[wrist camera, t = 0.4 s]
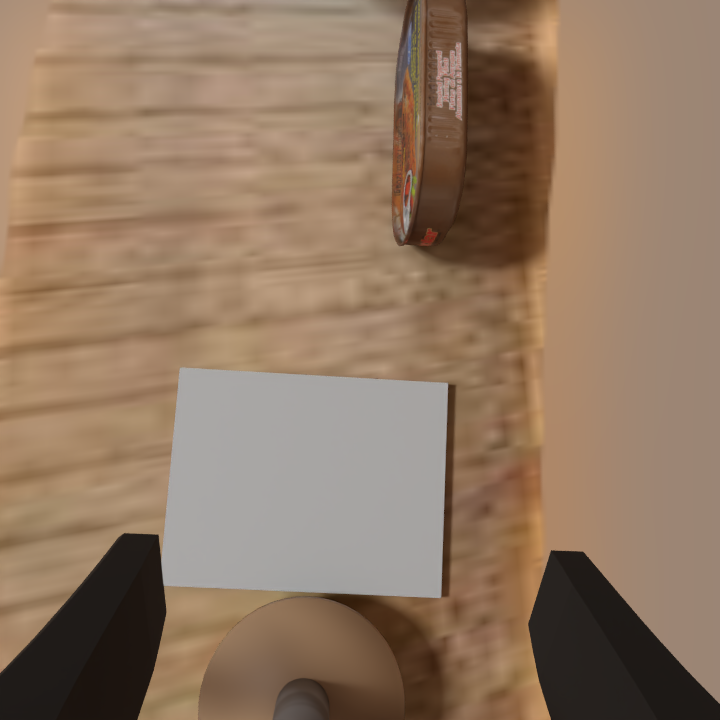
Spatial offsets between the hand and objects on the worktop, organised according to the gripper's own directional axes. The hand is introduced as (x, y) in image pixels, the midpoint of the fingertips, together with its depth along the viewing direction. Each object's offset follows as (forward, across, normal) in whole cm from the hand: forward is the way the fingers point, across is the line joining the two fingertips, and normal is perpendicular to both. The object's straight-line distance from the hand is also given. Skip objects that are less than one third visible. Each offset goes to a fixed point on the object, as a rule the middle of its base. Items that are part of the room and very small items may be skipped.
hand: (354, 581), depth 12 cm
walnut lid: (+12, +1, +23) cm, 26 cm away
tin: (+34, -4, -1) cm, 34 cm away
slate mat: (+21, +1, +15) cm, 26 cm away
